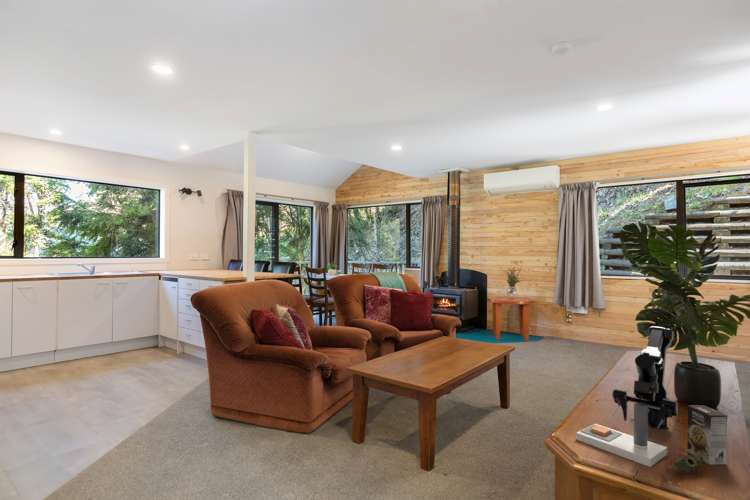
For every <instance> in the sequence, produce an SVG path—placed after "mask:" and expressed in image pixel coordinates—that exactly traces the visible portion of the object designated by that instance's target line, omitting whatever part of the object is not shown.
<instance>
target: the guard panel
mask: <svg viewBox="0 0 750 500" xmlns="http://www.w3.org/2000/svg"><path fill="white" fill-rule="evenodd" d="M597 425H598V426H601V427H604V428H607V429H610V430H611V435H609V436H607V437H603V436H600V435H597V434H594V433H592V432H591V428H593V427H595V426H597ZM575 440H576V441H580V442H582V443H584V444H588V445H590V446H593V447H596V448H598V449H601V450H604V451H606V452H609V453H612V454H614V455H617V456H619V457H622V458H625V459H627V460H631V461H633V462H635V463H638V464H641V465H644V466H646V467H649V468H651V467H652V466H653V465H655V464H656V463H658V462H660V461H661V460H662V459H663V458H664V457H666V456H668V447H667V446H665V445H661V444H658V443H655V442H652V441H649V440H648V449H639V448H636V447H634V435H630V434H629V433H628V434H627V433H624V432H621V431H618V430H616V429H613V428H609V427H606V426H604V425H600V424H598V423H593V424H591V425H589V426H588V427H585V428H583V429H581V430H579V431H577V432H576V435H575Z"/></svg>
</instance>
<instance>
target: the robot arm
mask: <svg viewBox="0 0 750 500" xmlns="http://www.w3.org/2000/svg"><path fill="white" fill-rule="evenodd" d="M647 338H648V341H647V346H646V347H645V348H644V349H642V350H641V352H640V354H638V355H637V356H636V358H635V359H634V363H635V367H636V371H637V374H638V376H637V377H638V378H637V380H634V381H633V383H634V384H633V395H634V396H632V395H628V394H627V390H622V389H616V388H614V389H613V391H612V399H613V401H614V403H615V404H617V406H619V407H621V410H622V414H623V421H624V422H626V421H627V418H628V407H629V406H628V403H630V402H631V403H634V404H635V403H640V404H645V405H647V406H648V427H651V428H655V429H656V430H658V429H659V428H660V429H669V426H668V418H673V417H678V403H677V402H676V401H675V400H672V399H670V397H669V395H668V392H667V389H666V388H665V387H664V386H665V385H664V384H665V373H666V372H665V370H666V359H667V356H666V355H667V351H668V349H669V348H670V347H671V346H672V341H674V340H675V339H674V338H675V333H674V331H673V330H672V329H671V328H667V327H666V328H665V327H664V326H655V325H652V326H650V327H648V328H647Z"/></svg>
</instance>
